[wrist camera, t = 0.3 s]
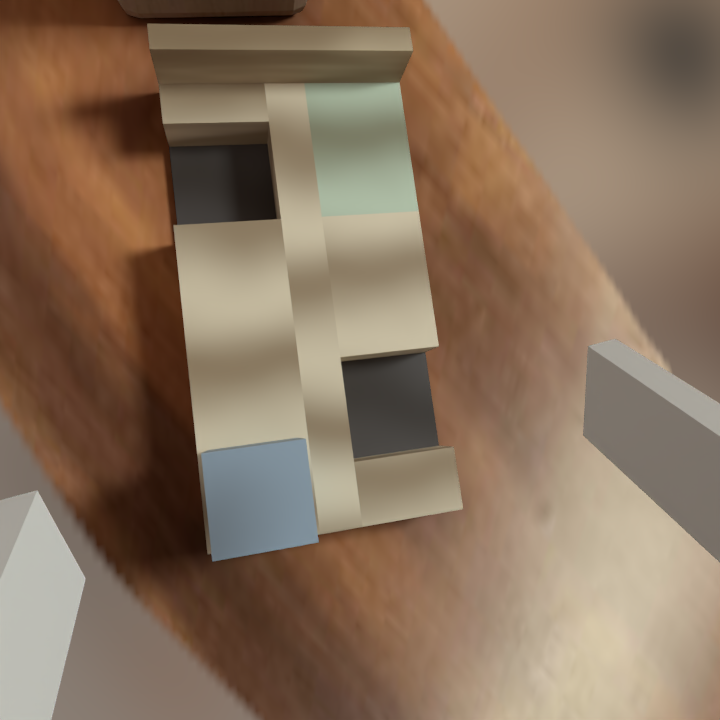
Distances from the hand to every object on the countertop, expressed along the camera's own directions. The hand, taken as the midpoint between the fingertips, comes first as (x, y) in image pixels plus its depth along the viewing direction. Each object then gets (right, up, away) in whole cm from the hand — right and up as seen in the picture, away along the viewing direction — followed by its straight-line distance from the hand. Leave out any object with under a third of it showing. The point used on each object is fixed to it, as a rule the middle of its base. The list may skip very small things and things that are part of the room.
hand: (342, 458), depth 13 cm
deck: (-2, +5, +16) cm, 17 cm away
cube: (-4, -3, +12) cm, 13 cm away
